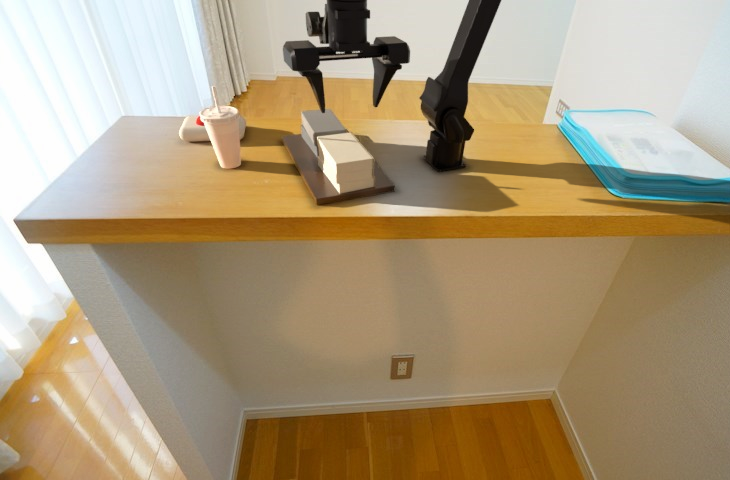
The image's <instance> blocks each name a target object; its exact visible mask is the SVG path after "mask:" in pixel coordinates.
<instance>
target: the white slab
mask: <svg viewBox="0 0 730 480" xmlns="http://www.w3.org/2000/svg"><path fill="white" fill-rule="evenodd" d="M238 123H239V138H240V141H241V140H242V139H243V138H244V137H245V132H246V127H247V120H246V118H245V117H244V116H242V115H240V118H239V119H238ZM178 136H179V138H180V139H181V140H182V141H184V142H211V140H210V138H209V135H208V132H207V130H206V127H205V125H204V122H202V121H201V119H200V115H188V116H186V117H185V118H184V120H183V122H182V124H181V126H180V128H179V131H178Z"/></svg>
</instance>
